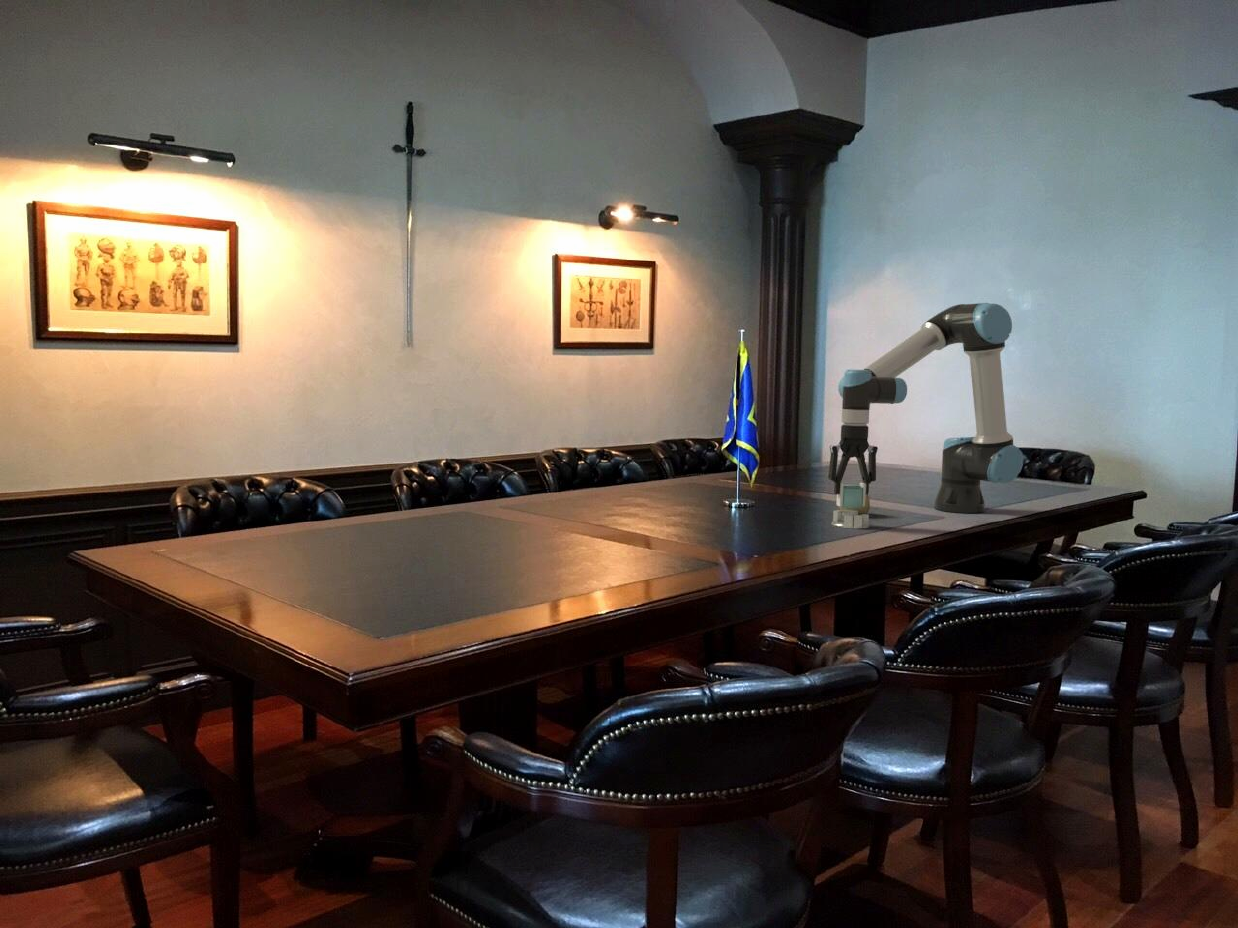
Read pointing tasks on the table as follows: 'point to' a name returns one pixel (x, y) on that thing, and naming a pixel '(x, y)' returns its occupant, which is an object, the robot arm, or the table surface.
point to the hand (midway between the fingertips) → (850, 505)
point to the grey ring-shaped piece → (850, 519)
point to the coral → (863, 509)
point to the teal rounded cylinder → (852, 496)
